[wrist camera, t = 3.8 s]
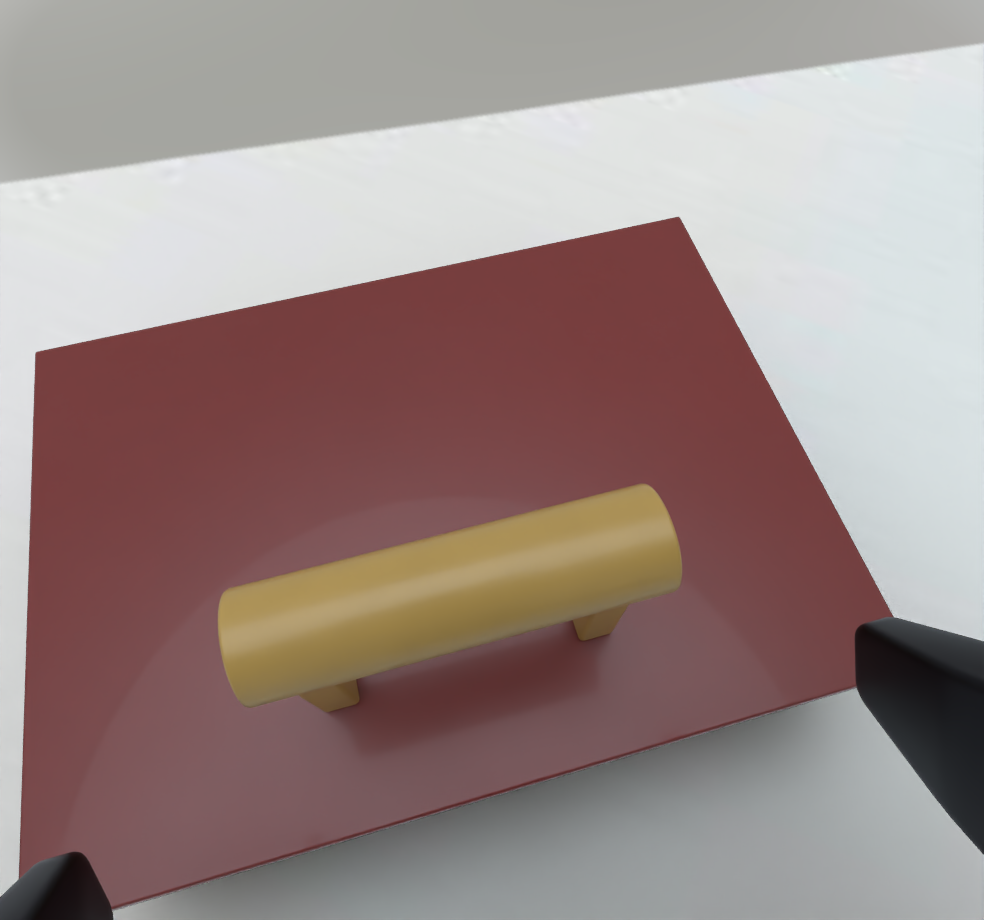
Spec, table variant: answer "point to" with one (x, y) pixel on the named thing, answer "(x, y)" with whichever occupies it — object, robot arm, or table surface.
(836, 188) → the table surface
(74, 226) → the table surface
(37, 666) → the cover
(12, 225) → the table surface
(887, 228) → the table surface
